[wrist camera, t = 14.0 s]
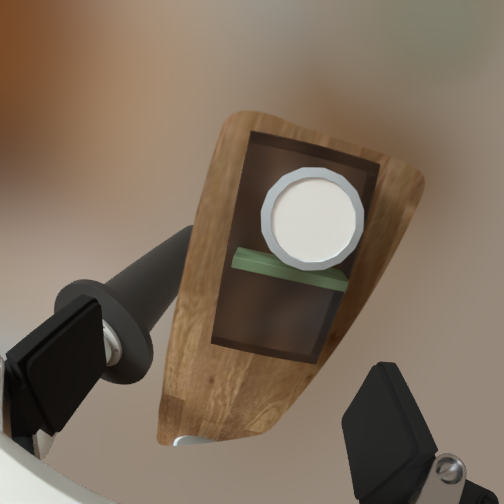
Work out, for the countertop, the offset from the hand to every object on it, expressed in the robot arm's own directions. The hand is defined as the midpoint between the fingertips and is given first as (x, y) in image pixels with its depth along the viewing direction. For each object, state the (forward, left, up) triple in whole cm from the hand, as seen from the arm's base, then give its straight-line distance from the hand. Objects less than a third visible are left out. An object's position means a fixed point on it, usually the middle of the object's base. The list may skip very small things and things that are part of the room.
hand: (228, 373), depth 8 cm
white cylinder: (+3, +4, -18) cm, 18 cm away
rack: (+3, -2, -29) cm, 29 cm away
